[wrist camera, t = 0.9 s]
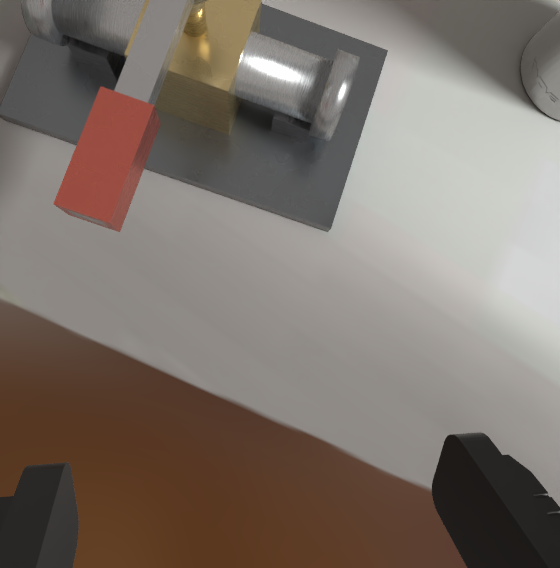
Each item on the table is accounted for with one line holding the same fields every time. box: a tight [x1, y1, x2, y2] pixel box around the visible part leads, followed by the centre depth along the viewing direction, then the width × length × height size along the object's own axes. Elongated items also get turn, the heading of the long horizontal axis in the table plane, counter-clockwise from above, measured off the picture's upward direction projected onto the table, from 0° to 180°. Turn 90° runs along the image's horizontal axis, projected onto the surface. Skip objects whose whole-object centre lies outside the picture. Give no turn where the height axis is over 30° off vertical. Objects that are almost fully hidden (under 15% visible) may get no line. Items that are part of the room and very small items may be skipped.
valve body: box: [0, 0, 388, 232], centre depth 34 cm, size 27×16×12 cm, turn 72°
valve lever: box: [54, 0, 207, 232], centre depth 26 cm, size 17×4×2 cm, turn 162°
